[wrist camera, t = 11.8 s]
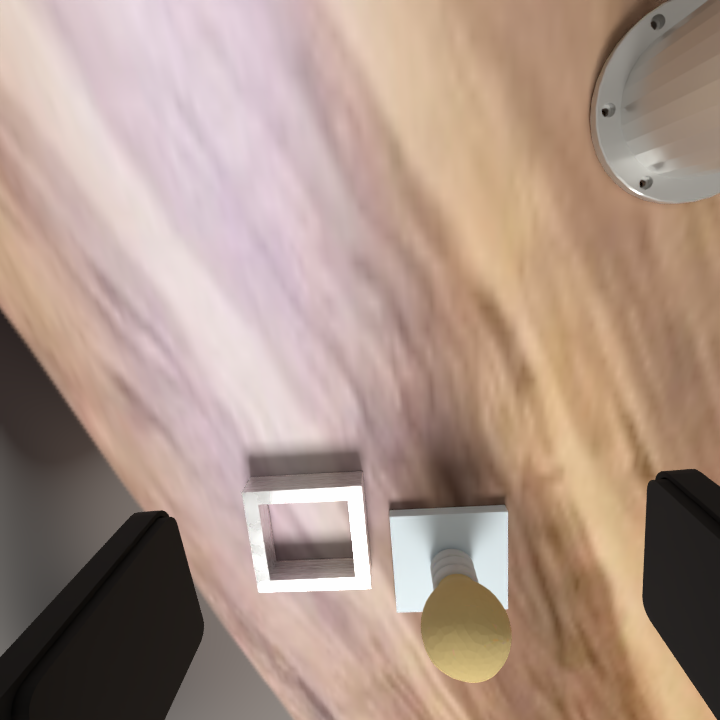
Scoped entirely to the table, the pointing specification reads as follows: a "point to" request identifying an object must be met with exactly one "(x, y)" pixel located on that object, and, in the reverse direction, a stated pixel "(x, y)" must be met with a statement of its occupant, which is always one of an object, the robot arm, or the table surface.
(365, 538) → the frame
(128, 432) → the table surface
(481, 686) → the table surface
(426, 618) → the light bulb
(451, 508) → the pad
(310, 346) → the table surface
